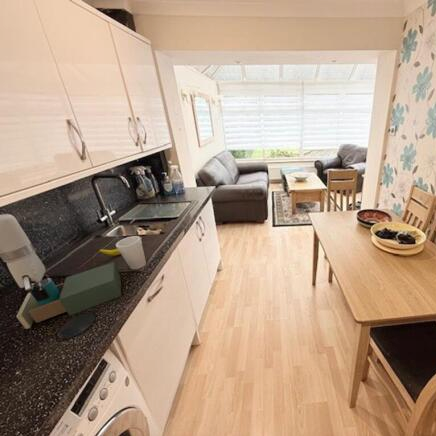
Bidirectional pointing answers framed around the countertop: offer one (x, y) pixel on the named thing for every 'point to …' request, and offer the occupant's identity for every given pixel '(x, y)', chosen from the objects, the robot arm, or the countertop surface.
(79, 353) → the countertop surface
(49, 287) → the can
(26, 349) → the countertop surface
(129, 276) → the countertop surface
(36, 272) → the robot arm
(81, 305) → the cabinet
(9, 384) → the countertop surface
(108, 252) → the banana
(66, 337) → the coaster
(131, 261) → the foam cup
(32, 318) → the drawer
